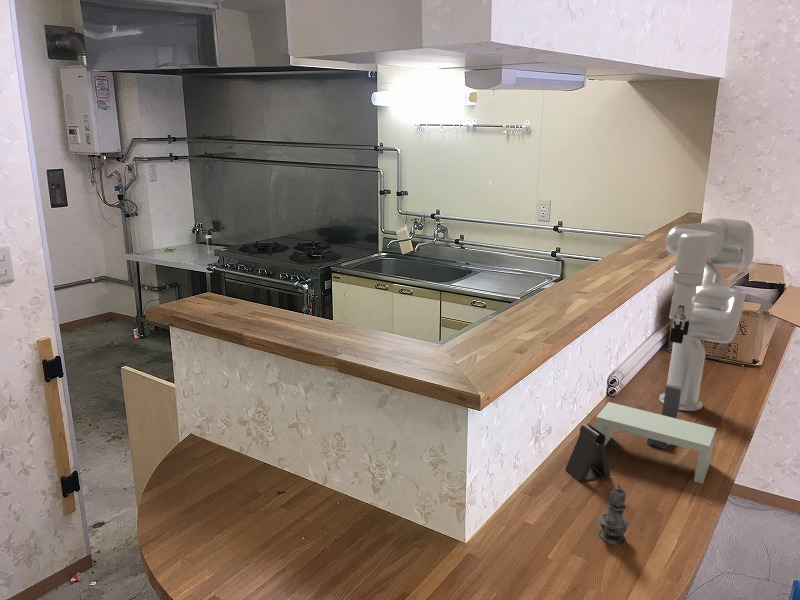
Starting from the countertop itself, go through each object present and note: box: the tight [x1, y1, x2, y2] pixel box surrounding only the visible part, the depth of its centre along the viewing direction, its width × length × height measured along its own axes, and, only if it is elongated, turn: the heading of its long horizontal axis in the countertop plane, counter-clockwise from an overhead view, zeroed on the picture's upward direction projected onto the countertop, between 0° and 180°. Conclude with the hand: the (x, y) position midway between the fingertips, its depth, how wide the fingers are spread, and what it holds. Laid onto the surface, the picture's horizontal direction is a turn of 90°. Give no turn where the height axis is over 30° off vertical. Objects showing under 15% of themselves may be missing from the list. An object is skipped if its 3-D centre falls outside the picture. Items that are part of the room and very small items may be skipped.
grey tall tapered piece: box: [598, 484, 630, 546], centre depth 132 cm, size 6×6×12 cm
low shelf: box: [594, 401, 717, 485], centre depth 166 cm, size 12×27×10 cm, turn 58°
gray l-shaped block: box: [646, 383, 682, 450], centre depth 180 cm, size 17×5×12 cm, turn 147°
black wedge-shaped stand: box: [564, 423, 611, 483], centre depth 157 cm, size 9×6×12 cm, turn 110°
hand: (678, 338), depth 181 cm, fingers open, 9 cm apart
